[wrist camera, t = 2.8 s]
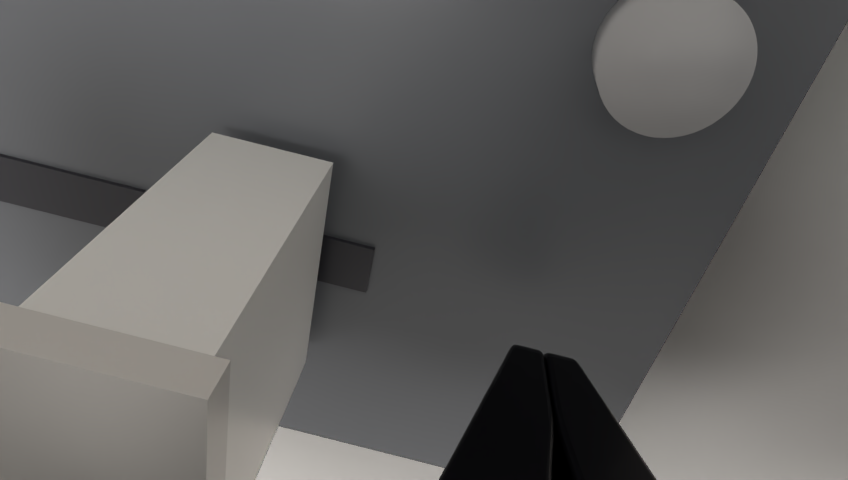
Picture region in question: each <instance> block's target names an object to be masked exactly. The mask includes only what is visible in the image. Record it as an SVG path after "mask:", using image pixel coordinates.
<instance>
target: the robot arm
mask: <svg viewBox="0 0 848 480" xmlns="http://www.w3.org/2000/svg"><path fill="white" fill-rule="evenodd" d="M439 480H656V478H655V477H654V475H653V474H652V472H651V471H650V469H649V468H648V466H647V465H646V463H645V462H644V460H643V459H642V457H641V456H640V454H639V453H638V451H637V450H636V448H635V447H634V445H633V444H632V442H631V441H630V439H629V438H628V436H627V435H626V433H625V432H624V430H623V429H622V427H621V426H620V424H619V423H618V421H617V420H616V418H615V417H614V415H613V414H612V412H611V411H610V409H609V408H608V406H607V405H606V404H605V402H604V401H603V399H602V398H601V396H600V395H599V393H598V392H597V390H596V389H595V387H594V386H593V384H592V383H591V381H590V380H589V378H588V377H587V375H586V374H585V372H584V371H583V369H582V368H581V366H580V365H579V363H578V362H577V361H576V360H574V359H572V358H569V357H565V356H561V355H557V354H553V353H546V354H544V355H543V353H542V352H541V351H540V350H537V349H533V348H529V347H525V346H521V345H516V344H515V345H513V346H511V348H510V349H509V351H508V353H507V355H506V357H505V358H504V360H503V362H502V364H501V366H500V368H499V370H498V371H497V373H496V375H495V377H494V379H493V381H492V382H491V384H490V386H489V388H488V390H487V392H486V394H485V395H484V397H483V399H482V401H481V403H480V405H479V407H478V408H477V410H476V412H475V414H474V416H473V418H472V419H471V421H470V423H469V425H468V427H467V429H466V431H465V432H464V434H463V436H462V438H461V440H460V442H459V443H458V445H457V447H456V449H455V451H454V453H453V455H452V456H451V458H450V460H449V462H448V464H447V466H446V467H445V469H444V471H443V473H442V475H441V477H440V479H439Z"/></svg>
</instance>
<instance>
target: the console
mask: <svg viewBox="0 0 848 480" xmlns="http://www.w3.org/2000/svg"><path fill="white" fill-rule="evenodd" d="M847 21H848V0H0V302H2V303H6V304H10V305H14V306H19V305H21V304H22V303H23V302H24V301H25V300H26V299H27V298H28V297H29V296H31V295H32V294H33V293H34V292H35V291H36V290H37V289H38V288H40V287H41V286H42V285H43V284H44V283H45V282H46V281H47V280H48V279H50V278H51V277H52V276H53V275H54V274H55V273H56V272H57V271H58V270H60V269H61V268H62V267H63V266H64V265H65V264H66V263H67V262H68V261H70V260H71V259H72V258H73V257H74V256H75V255H76V254H77V253H78V252H80V251H81V250H82V249H83V248H84V247H85V246H86V245H87V244H88V243H90V242H91V241H92V240H93V239H94V238H95V237H96V236H97V235H98V234H100V233H101V232H102V231H103V230H104V229H105V228H106V227H107V226H108V225H110V224H111V223H112V222H113V221H114V220H115V219H116V218H117V217H119V216H120V215H121V214H122V213H123V212H124V211H125V210H126V209H127V208H129V207H130V206H131V205H132V204H133V203H134V202H135V201H136V200H137V199H139V198H140V197H141V196H142V195H143V194H144V193H145V192H146V191H147V190H149V189H150V188H151V187H152V186H153V185H154V184H155V183H156V182H157V181H159V180H160V179H161V178H162V177H163V176H164V175H165V174H166V173H167V172H169V171H170V170H171V169H172V168H173V167H174V166H175V165H176V164H177V163H179V162H180V161H181V160H182V159H183V158H184V157H185V156H186V155H188V154H189V153H190V152H191V151H192V150H193V149H194V148H195V147H196V146H198V145H199V144H200V143H201V142H202V141H203V140H204V139H205V138H206V137H208V136H209V135H210V134H211V133H212V132H213V133H217V134H221V135H225V136H229V137H233V138H237V139H241V140H245V141H249V142H253V143H257V144H261V145H265V146H269V147H273V148H277V149H281V150H285V151H289V152H293V153H297V154H301V155H305V156H309V157H313V158H317V159H321V160H325V161H329V162H333V168H332V176H331V183H330V190H329V197H328V204H327V212H326V219H325V226H324V233H323V241H322V248H321V255H320V262H319V270H318V277H317V284H316V291H315V298H314V306H313V313H312V320H311V327H310V335H309V342H308V349H307V356H306V362H305V365H304V367H303V369H302V372H301V374H300V376H299V379H298V381H297V383H296V386H295V388H294V390H293V393H292V395H291V397H290V400H289V402H288V404H287V407H286V409H285V411H284V414H283V416H282V419H281V421H280V423H279V426H281V427H285V428H289V429H293V430H297V431H301V432H305V433H309V434H313V435H317V436H320V437H324V438H328V439H332V440H336V441H340V442H344V443H348V444H352V445H356V446H360V447H364V448H368V449H372V450H376V451H380V452H384V453H388V454H392V455H396V456H400V457H404V458H408V459H412V460H416V461H420V462H424V463H428V464H431V465H435V466H439V467H443V468H445V467H446V466H447V464H448V462H449V460H450V458H451V456H452V455H453V453H454V451H455V449H456V447H457V445H458V443H459V442H460V440H461V438H462V436H463V434H464V432H465V431H466V429H467V427H468V425H469V423H470V421H471V419H472V418H473V416H474V414H475V412H476V410H477V408H478V407H479V405H480V403H481V401H482V399H483V397H484V395H485V394H486V392H487V390H488V388H489V386H490V384H491V382H492V381H493V379H494V377H495V375H496V373H497V371H498V370H499V368H500V366H501V364H502V362H503V360H504V358H505V357H506V355H507V353H508V351H509V349H510V348H511V346H513V345H515V344H516V345H521V346H525V347H529V348H533V349H537V350H540V351H541V352H542V353H543V355H544V354H546V353H553V354H557V355H561V356H565V357H569V358H572V359H574V360H576V361H577V362H578V363H579V365H580V366H581V368H582V369H583V371H584V372H585V374H586V375H587V377H588V378H589V380H590V381H591V383H592V384H593V386H594V387H595V389H596V390H597V392H598V393H599V395H600V396H601V398H602V399H603V401H604V402H605V404H606V405H607V406H608V408H609V409H610V411H611V412H612V414H613V415H614V417H615V418H616V420H617V421H618V423H619V422H620V420H621V418H622V416H623V415H624V413H625V411H626V409H627V408H628V406H629V404H630V402H631V401H632V399H633V397H634V395H635V394H636V392H637V390H638V388H639V387H640V385H641V383H642V381H643V380H644V378H645V376H646V374H647V373H648V371H649V369H650V367H651V365H652V364H653V362H654V360H655V358H656V357H657V355H658V353H659V351H660V350H661V348H662V346H663V344H664V343H665V341H666V339H667V337H668V336H669V334H670V332H671V330H672V329H673V327H674V325H675V323H676V322H677V320H678V318H679V316H680V315H681V313H682V311H683V309H684V308H685V306H686V304H687V302H688V301H689V299H690V297H691V295H692V293H693V292H694V290H695V288H696V286H697V285H698V283H699V281H700V279H701V278H702V276H703V274H704V272H705V271H706V269H707V267H708V265H709V264H710V262H711V260H712V258H713V257H714V255H715V253H716V251H717V250H718V248H719V246H720V244H721V243H722V241H723V239H724V237H725V236H726V234H727V232H728V230H729V229H730V227H731V225H732V223H733V222H734V220H735V218H736V216H737V214H738V213H739V211H740V209H741V207H742V206H743V204H744V202H745V200H746V199H747V197H748V195H749V193H750V192H751V190H752V188H753V186H754V185H755V183H756V181H757V179H758V178H759V176H760V174H761V172H762V171H763V169H764V167H765V165H766V164H767V162H768V160H769V158H770V157H771V155H772V153H773V151H774V150H775V148H776V146H777V144H778V142H779V141H780V139H781V137H782V135H783V134H784V132H785V130H786V128H787V127H788V125H789V123H790V121H791V120H792V118H793V116H794V114H795V113H796V111H797V109H798V107H799V106H800V104H801V102H802V100H803V99H804V97H805V95H806V93H807V92H808V90H809V88H810V86H811V85H812V83H813V81H814V79H815V78H816V76H817V74H818V72H819V71H820V69H821V67H822V65H823V63H824V62H825V60H826V58H827V56H828V55H829V53H830V51H831V49H832V48H833V46H834V44H835V42H836V41H837V39H838V37H839V35H840V34H841V32H842V30H843V28H844V27H845V25H846V23H847Z"/></svg>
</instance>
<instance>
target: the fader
mask: <svg viewBox="0 0 848 480" xmlns="http://www.w3.org/2000/svg"><path fill="white" fill-rule="evenodd" d="M332 168H333V162H329V161H325V160H321V159H317V158H313V157H309V156H305V155H301V154H297V153H293V152H289V151H285V150H281V149H277V148H273V147H269V146H265V145H261V144H257V143H253V142H249V141H245V140H241V139H237V138H233V137H229V136H225V135H221V134H217V133H213V132H212V133H211V134H210V135H209V136H208V137H206V138H205V139H204V140H203V141H202V142H201V143H200V144H199V145H198V146H196V147H195V148H194V149H193V150H192V151H191V152H190V153H189V154H188V155H186V156H185V157H184V158H183V159H182V160H181V161H180V162H179V163H177V164H176V165H175V166H174V167H173V168H172V169H171V170H170V171H169V172H167V173H166V174H165V175H164V176H163V177H162V178H161V179H160V180H159V181H157V182H156V183H155V184H154V185H153V186H152V187H151V188H150V189H149V190H147V191H146V192H145V193H144V194H143V195H142V196H141V197H140V198H139V199H137V200H136V201H135V202H134V203H133V204H132V205H131V206H130V207H129V208H127V209H126V210H125V211H124V212H123V213H122V214H121V215H120V216H119V217H117V218H116V219H115V220H114V221H113V222H112V223H111V224H110V225H108V226H107V227H106V228H105V229H104V230H103V231H102V232H101V233H100V234H98V235H97V236H96V237H95V238H94V239H93V240H92V241H91V242H90V243H88V244H87V245H86V246H85V247H84V248H83V249H82V250H81V251H80V252H78V253H77V254H76V255H75V256H74V257H73V258H72V259H71V260H70V261H68V262H67V263H66V264H65V265H64V266H63V267H62V268H61V269H60V270H58V271H57V272H56V273H55V274H54V275H53V276H52V277H51V278H50V279H48V280H47V281H46V282H45V283H44V284H43V285H42V286H41V287H40V288H38V289H37V290H36V291H35V292H34V293H33V294H32V295H31V296H29V297H28V298H27V299H26V300H25V301H24V302H23V303H22V304H21V305H19V306H14V305H10V304H6V303H2V302H0V480H255V479H256V477H257V475H258V472H259V470H260V468H261V465H262V463H263V461H264V458H265V456H266V454H267V451H268V449H269V447H270V444H271V442H272V440H273V437H274V435H275V433H276V430H277V428H278V426H279V423H280V421H281V419H282V416H283V414H284V411H285V409H286V407H287V404H288V402H289V400H290V397H291V395H292V393H293V390H294V388H295V386H296V383H297V381H298V379H299V376H300V374H301V372H302V369H303V367H304V365H305V362H306V356H307V349H308V342H309V335H310V327H311V320H312V313H313V306H314V298H315V291H316V284H317V277H318V270H319V262H320V255H321V248H322V241H323V233H324V226H325V219H326V212H327V204H328V197H329V190H330V183H331V176H332Z"/></svg>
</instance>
